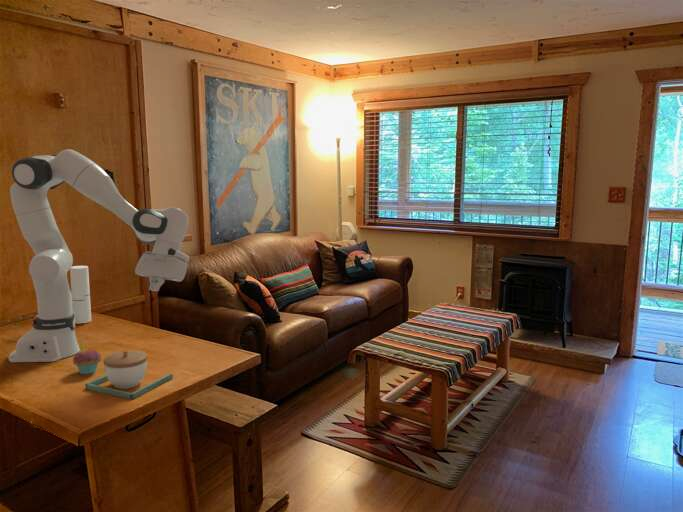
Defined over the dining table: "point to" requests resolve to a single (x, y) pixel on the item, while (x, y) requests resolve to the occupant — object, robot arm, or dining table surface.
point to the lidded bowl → (125, 368)
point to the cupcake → (86, 360)
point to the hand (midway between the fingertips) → (153, 290)
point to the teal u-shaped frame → (94, 386)
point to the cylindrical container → (80, 294)
